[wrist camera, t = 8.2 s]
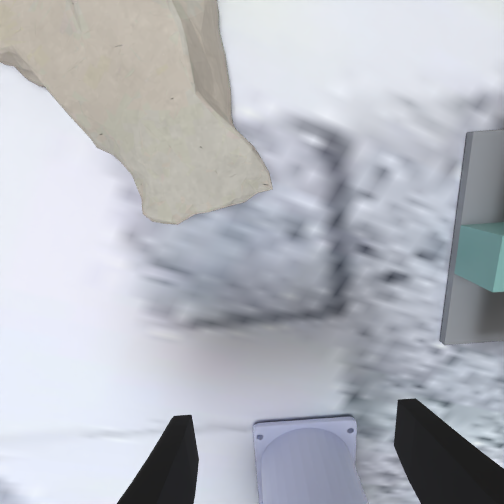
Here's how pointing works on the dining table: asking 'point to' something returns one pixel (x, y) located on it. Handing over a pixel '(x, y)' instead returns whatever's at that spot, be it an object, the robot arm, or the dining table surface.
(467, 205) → the board
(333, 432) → the robot arm
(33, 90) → the dining table surface
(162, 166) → the rock
